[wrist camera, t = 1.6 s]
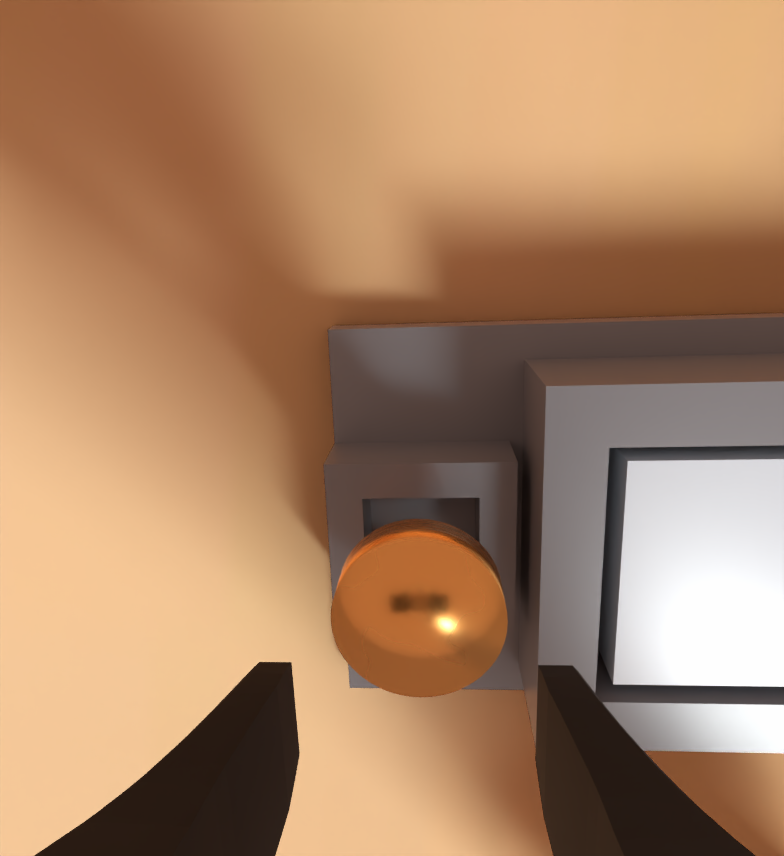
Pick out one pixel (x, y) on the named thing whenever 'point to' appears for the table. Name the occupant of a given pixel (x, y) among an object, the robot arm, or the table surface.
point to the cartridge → (694, 566)
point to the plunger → (419, 608)
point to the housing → (550, 474)
